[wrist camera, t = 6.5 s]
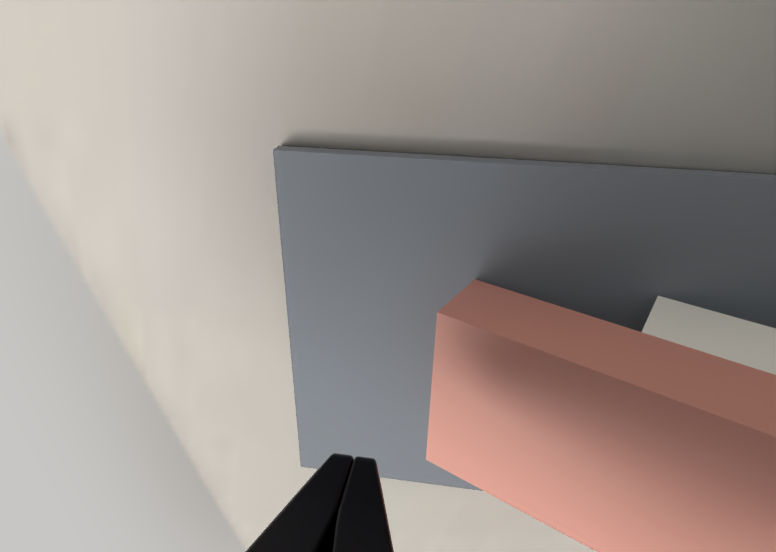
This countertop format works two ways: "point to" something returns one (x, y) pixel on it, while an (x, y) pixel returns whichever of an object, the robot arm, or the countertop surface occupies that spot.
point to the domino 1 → (603, 427)
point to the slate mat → (486, 270)
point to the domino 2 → (713, 333)
